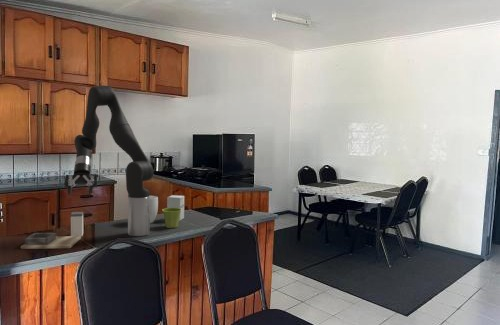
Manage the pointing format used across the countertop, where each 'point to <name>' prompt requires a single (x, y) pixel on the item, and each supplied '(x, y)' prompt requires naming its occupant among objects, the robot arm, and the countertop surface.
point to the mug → (153, 207)
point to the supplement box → (176, 204)
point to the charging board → (49, 241)
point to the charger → (77, 224)
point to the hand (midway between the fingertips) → (79, 193)
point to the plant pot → (171, 217)
